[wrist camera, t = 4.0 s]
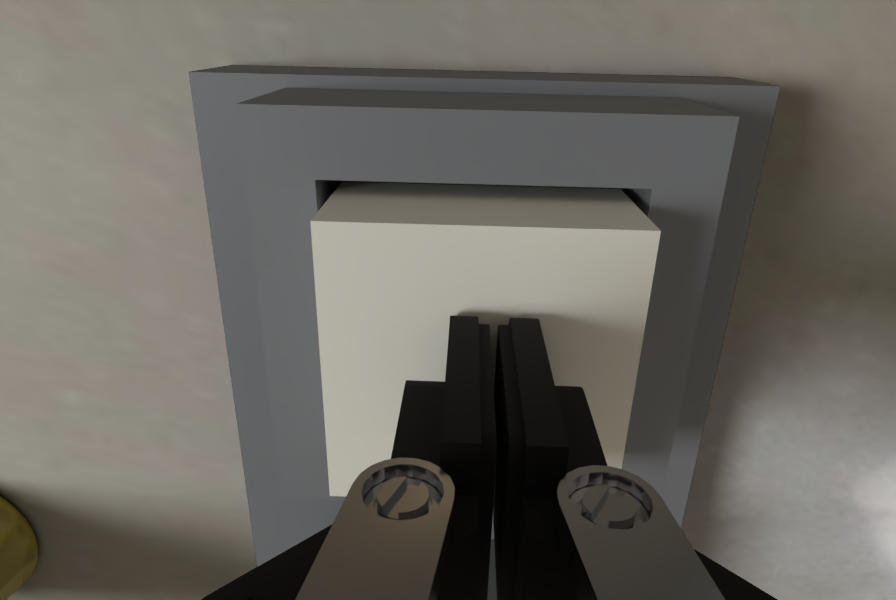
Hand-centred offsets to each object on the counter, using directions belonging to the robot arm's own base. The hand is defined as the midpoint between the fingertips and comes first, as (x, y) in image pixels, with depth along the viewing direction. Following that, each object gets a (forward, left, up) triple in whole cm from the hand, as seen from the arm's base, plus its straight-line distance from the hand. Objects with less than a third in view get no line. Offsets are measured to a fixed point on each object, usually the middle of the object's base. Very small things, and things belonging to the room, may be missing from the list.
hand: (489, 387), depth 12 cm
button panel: (+7, 0, -8) cm, 11 cm away
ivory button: (0, 0, -3) cm, 3 cm away
